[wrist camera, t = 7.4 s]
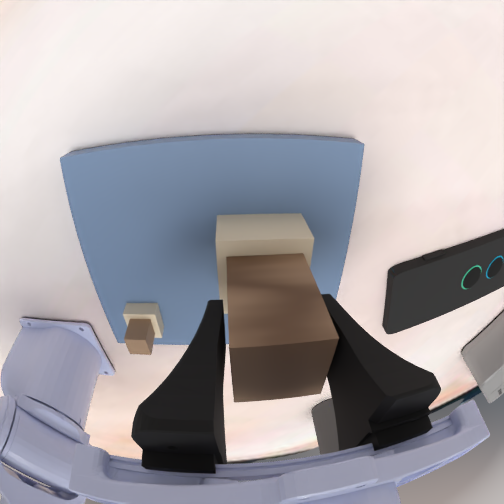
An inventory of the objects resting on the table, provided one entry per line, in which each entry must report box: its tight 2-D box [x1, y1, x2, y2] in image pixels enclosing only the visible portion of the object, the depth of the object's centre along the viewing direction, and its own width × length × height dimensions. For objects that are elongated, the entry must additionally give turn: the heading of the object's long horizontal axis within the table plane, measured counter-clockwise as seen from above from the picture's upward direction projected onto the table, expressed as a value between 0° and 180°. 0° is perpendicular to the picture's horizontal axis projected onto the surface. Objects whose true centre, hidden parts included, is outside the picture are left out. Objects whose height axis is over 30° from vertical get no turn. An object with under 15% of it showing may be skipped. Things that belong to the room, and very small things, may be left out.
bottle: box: [312, 399, 339, 455], centre depth 29 cm, size 6×6×15 cm
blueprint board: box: [60, 134, 364, 355], centre depth 18 cm, size 18×16×5 cm
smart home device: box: [382, 229, 504, 334], centre depth 23 cm, size 8×2×20 cm
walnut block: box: [226, 253, 339, 402], centre depth 13 cm, size 4×4×6 cm
